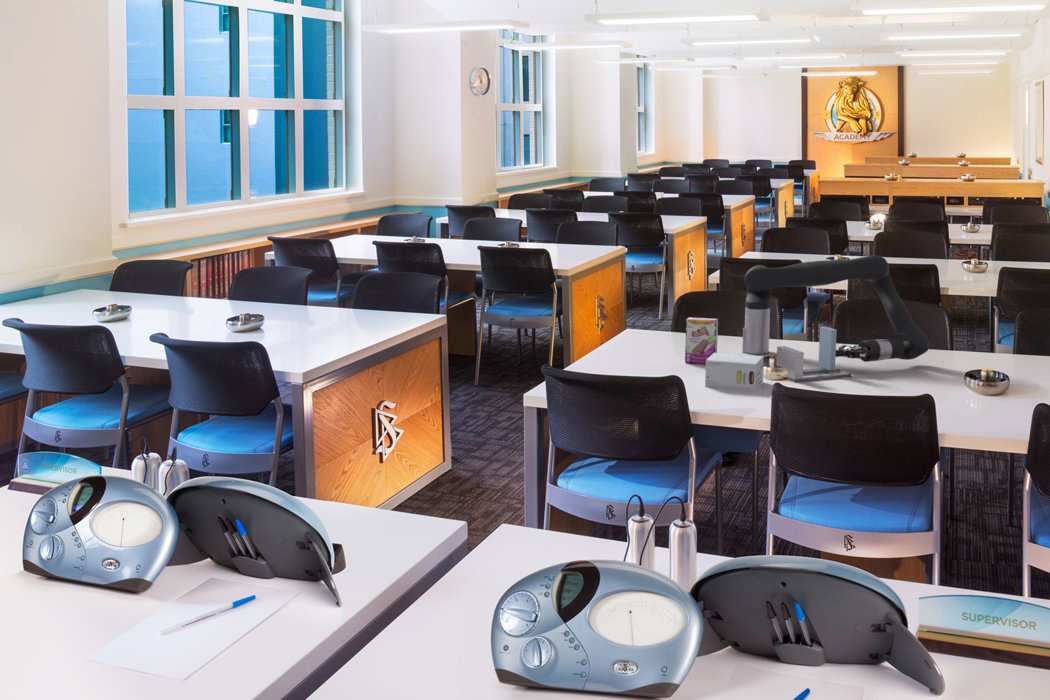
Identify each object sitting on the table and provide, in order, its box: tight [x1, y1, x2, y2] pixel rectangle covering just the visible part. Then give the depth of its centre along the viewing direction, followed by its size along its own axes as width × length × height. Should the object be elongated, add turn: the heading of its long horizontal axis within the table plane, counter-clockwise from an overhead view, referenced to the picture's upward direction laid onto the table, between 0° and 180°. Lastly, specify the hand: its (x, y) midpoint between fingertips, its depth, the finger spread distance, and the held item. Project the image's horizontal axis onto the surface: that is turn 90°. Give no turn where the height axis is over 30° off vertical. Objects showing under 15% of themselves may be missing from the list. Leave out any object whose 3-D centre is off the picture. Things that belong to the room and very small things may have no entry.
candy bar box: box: [684, 316, 719, 365], centre depth 373 cm, size 11×5×16 cm, turn 71°
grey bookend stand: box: [776, 345, 853, 383], centre depth 350 cm, size 22×12×10 cm, turn 107°
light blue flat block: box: [818, 326, 839, 373], centre depth 350 cm, size 2×10×14 cm, turn 17°
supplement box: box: [704, 352, 764, 391], centre depth 340 cm, size 17×13×9 cm
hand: (832, 353), depth 353 cm, fingers closed
